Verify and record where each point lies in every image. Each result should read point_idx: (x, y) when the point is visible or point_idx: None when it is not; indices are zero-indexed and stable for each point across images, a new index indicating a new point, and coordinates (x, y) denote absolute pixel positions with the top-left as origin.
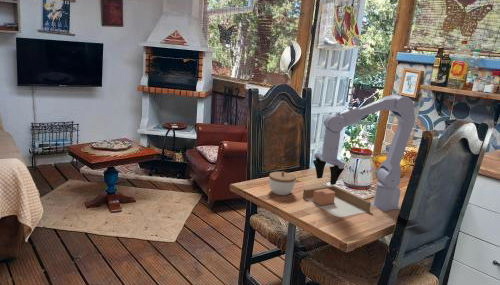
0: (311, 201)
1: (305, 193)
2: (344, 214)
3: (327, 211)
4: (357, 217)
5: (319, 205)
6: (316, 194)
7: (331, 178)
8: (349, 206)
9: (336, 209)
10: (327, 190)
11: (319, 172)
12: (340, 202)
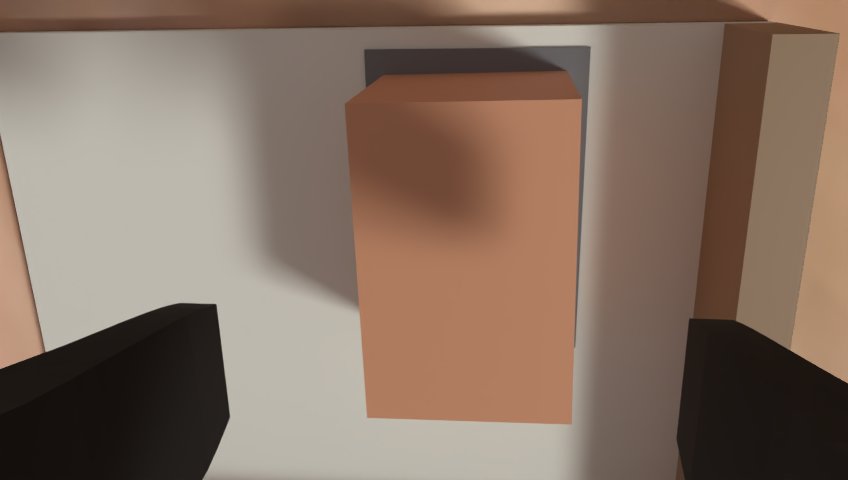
0: (573, 50)
1: (751, 33)
2: (52, 188)
3: (188, 31)
4: (6, 305)
5: (396, 63)
6: (498, 92)
7: (85, 352)
8: (251, 434)
9: (215, 208)
10: (485, 353)
11: (743, 447)
12: (393, 429)
